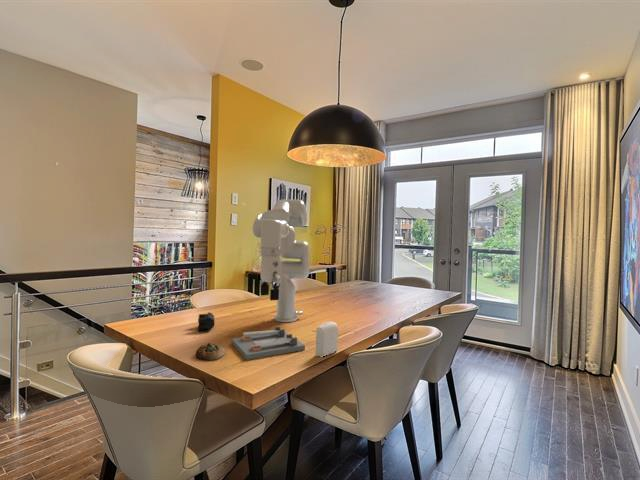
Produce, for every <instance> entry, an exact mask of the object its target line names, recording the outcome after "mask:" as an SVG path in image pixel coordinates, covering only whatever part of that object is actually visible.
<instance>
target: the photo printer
mask: <svg viewBox="0 0 640 480" xmlns="http://www.w3.org/2000/svg"><path fill="white" fill-rule="evenodd" d="M338 332H339V327H338V323H336V322H333V321H325V322H323V323H321V324H320V325H319V326H317V328H316V331H315V355H316V357H318V356H320V357H319V358H324V357H323V356H325V357H327V356H329V354H330V355H332V354H333V353H336V352H338V342H339V340H338V339H339V338H338V334H339V333H338ZM335 351H336V352H335ZM331 353H332V354H331ZM326 355H327V356H326ZM321 356H322V357H321Z"/></svg>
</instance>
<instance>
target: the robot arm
mask: <svg viewBox="0 0 640 480" xmlns="http://www.w3.org/2000/svg"><path fill="white" fill-rule="evenodd" d="M307 212H308V211H307V207H306V204H305V202H304V201H303V200H301V199H288V198H287V199H286V198H285V199H283V198H282V199H279V200H278V201H277V202H275V204H274V206H273V208H272V209H269V210H267V211H264V212H261V213H259V214H258V215H256V218H255V219H254V221H253V224H252V233H253V236H254V237H256V238H258V239H260V257H261V261H260V273H259V275H260V295H261V296H269V300H270V301H276V315H273V320H274V321H275V322H280V323H292V322H296V321H297V320H298V316H302V315H304V312H303V310H301V311H299V310H296V308H295V307H296V285H295V283H294V282H293V281H292V280H293V279H294V280H306V279H307V278H308V277H309V275H310V245H309V243H308V242H307V241H304V240H296V230H295V228H294V227H296V228H297V227H298V228H299V227H305V226H306V225H307V223H308V213H307ZM281 258H282V259H283V260H281ZM284 259H290V260H284ZM291 259H293V260H291ZM294 259H295V260H294Z"/></svg>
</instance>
